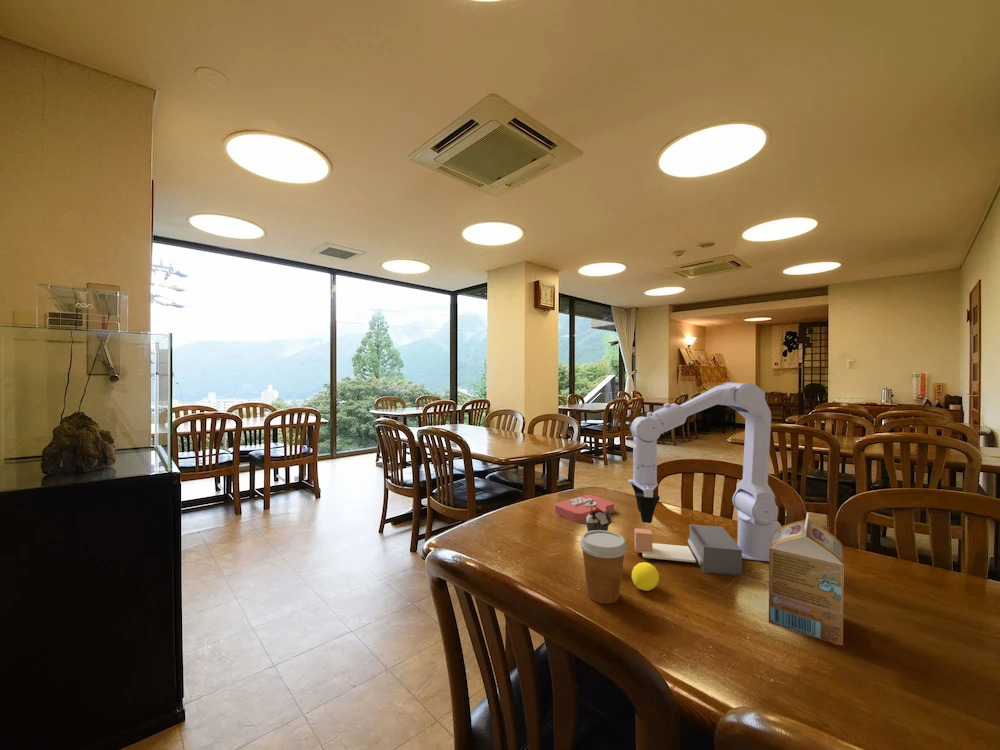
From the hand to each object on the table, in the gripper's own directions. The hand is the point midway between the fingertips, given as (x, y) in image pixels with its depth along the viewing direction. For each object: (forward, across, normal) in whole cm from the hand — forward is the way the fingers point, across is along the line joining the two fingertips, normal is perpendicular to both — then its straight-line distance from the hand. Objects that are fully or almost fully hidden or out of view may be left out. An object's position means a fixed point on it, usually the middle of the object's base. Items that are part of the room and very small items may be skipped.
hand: (644, 516), depth 104 cm
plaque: (+10, -26, -15) cm, 32 cm away
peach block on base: (+9, 0, +4) cm, 10 cm away
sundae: (+10, +7, -12) cm, 17 cm away
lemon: (+10, +17, -2) cm, 20 cm away
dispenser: (+9, 0, +16) cm, 19 cm away
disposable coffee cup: (+10, +22, -11) cm, 27 cm away
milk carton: (+10, +22, +26) cm, 36 cm away
